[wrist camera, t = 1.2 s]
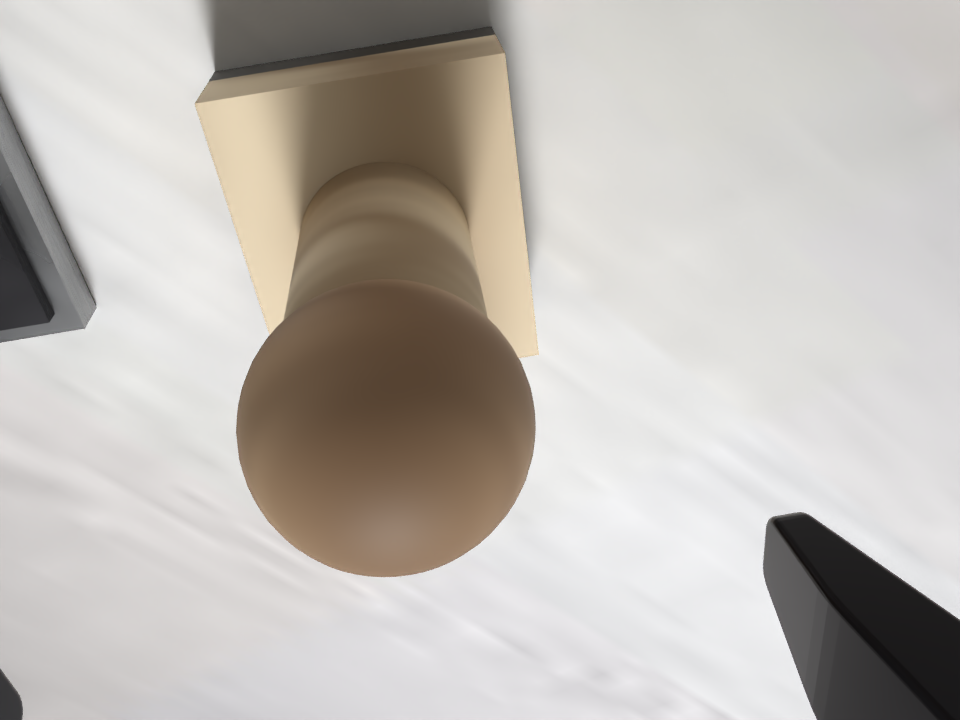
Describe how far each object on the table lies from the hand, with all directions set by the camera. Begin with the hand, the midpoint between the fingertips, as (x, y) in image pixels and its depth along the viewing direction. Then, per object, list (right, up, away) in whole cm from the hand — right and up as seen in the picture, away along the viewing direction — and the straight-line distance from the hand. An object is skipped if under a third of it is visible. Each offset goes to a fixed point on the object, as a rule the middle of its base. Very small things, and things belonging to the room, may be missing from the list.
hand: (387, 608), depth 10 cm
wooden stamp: (-1, +7, +10) cm, 12 cm away
